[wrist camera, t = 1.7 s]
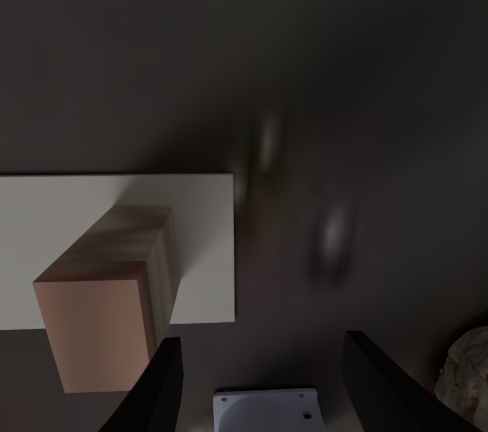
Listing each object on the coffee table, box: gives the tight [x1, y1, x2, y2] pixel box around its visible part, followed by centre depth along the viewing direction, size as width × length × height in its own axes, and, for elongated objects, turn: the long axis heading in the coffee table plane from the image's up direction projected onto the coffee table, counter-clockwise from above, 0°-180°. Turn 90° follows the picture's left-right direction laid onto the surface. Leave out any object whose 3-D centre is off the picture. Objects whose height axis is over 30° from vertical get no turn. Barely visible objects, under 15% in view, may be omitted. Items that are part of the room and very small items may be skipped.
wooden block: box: [32, 205, 181, 393], centre depth 17 cm, size 4×6×9 cm, turn 0°
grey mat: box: [0, 173, 235, 330], centre depth 22 cm, size 20×12×1 cm, turn 90°
